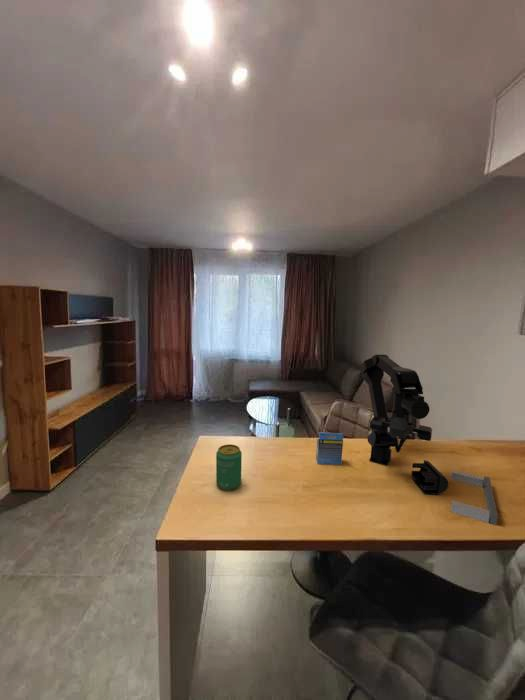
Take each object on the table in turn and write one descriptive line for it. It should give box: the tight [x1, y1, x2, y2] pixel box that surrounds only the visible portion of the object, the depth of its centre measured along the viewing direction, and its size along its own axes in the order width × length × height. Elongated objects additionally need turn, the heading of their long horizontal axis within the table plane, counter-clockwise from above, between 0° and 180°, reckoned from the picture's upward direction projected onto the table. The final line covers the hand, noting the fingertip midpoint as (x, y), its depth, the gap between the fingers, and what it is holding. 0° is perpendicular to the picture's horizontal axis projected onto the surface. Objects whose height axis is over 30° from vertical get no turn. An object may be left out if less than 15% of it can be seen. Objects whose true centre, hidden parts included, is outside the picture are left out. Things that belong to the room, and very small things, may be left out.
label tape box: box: [315, 431, 344, 465], centre depth 121 cm, size 9×4×12 cm, turn 89°
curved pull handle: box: [450, 469, 499, 526], centre depth 101 cm, size 11×22×3 cm, turn 150°
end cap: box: [411, 459, 449, 496], centre depth 107 cm, size 10×7×7 cm
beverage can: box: [215, 444, 243, 491], centre depth 105 cm, size 8×8×12 cm
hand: (397, 451), depth 111 cm, fingers closed
